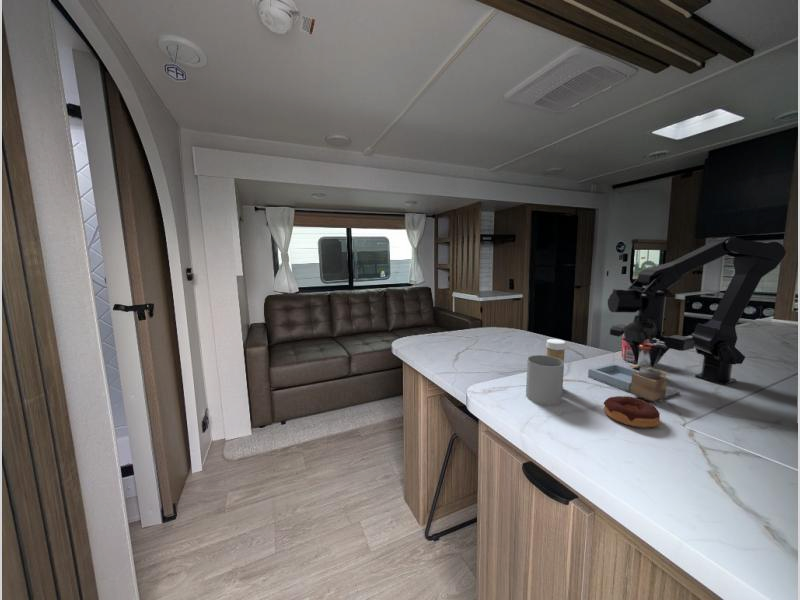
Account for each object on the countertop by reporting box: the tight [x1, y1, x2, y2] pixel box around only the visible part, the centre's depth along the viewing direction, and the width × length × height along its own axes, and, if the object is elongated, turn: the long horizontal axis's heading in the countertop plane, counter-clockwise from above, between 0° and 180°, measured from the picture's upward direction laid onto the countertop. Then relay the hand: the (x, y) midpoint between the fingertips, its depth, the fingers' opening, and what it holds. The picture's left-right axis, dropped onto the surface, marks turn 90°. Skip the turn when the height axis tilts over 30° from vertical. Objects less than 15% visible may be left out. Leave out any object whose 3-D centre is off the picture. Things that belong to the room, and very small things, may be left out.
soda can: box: [620, 334, 650, 364], centre depth 100 cm, size 7×7×12 cm
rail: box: [635, 386, 681, 403], centre depth 77 cm, size 11×4×1 cm, turn 112°
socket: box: [627, 364, 667, 378], centre depth 88 cm, size 7×7×2 cm
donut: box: [603, 395, 661, 429], centre depth 66 cm, size 10×10×4 cm
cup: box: [525, 354, 565, 407], centre depth 76 cm, size 8×8×10 cm
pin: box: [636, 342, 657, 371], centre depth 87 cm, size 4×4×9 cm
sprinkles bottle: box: [546, 338, 567, 377], centre depth 81 cm, size 5×5×14 cm
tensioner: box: [629, 367, 668, 402], centre depth 74 cm, size 5×5×7 cm
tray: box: [587, 362, 639, 393], centre depth 85 cm, size 11×11×2 cm
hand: (645, 364), depth 88 cm, fingers closed on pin, 4 cm apart
